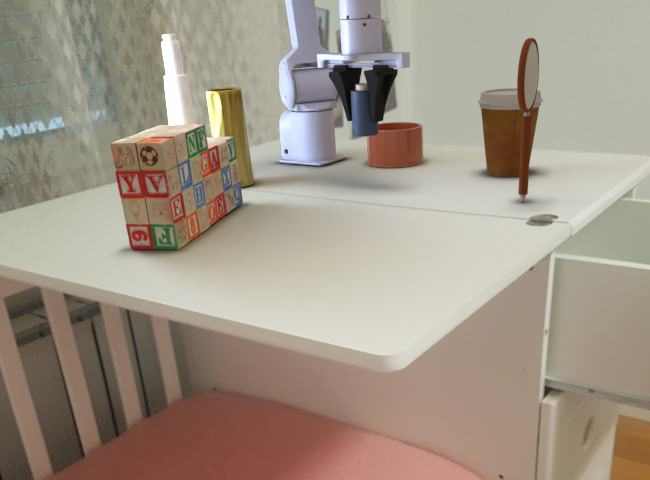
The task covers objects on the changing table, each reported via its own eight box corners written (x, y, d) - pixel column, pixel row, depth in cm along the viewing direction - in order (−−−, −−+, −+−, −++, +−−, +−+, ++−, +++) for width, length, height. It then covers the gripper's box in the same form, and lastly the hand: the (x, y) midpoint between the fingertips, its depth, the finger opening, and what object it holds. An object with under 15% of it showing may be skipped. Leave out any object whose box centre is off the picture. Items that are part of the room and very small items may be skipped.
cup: (357, 165, 122) (355, 129, 119) (386, 155, 129) (385, 121, 126) (405, 169, 117) (404, 131, 114) (432, 159, 124) (432, 123, 121)
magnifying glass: (521, 210, 91) (529, 39, 82) (508, 209, 92) (514, 40, 83) (536, 194, 98) (544, 35, 89) (523, 193, 99) (531, 36, 90)
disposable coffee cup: (486, 165, 117) (489, 87, 112) (545, 167, 113) (550, 87, 108) (468, 177, 109) (469, 94, 104) (530, 180, 105) (534, 95, 100)
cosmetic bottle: (205, 172, 123) (186, 32, 113) (212, 178, 117) (191, 33, 108) (170, 176, 121) (146, 35, 111) (174, 183, 116) (151, 35, 106)
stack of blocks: (202, 203, 102) (189, 113, 97) (243, 203, 101) (233, 112, 96) (129, 249, 83) (108, 141, 78) (179, 250, 82) (161, 140, 77)
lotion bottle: (347, 135, 105) (344, 85, 102) (362, 131, 108) (359, 82, 105) (369, 137, 103) (367, 85, 100) (383, 132, 106) (381, 82, 103)
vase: (220, 181, 116) (208, 87, 110) (257, 179, 115) (247, 86, 109) (212, 189, 110) (198, 92, 104) (251, 188, 110) (240, 90, 104)
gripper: (301, 21, 99) (308, 122, 105) (389, 18, 92) (392, 127, 98) (331, 19, 105) (336, 115, 110) (417, 16, 97) (418, 119, 103)
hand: (364, 120), depth 104 cm, fingers closed on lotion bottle, 4 cm apart
